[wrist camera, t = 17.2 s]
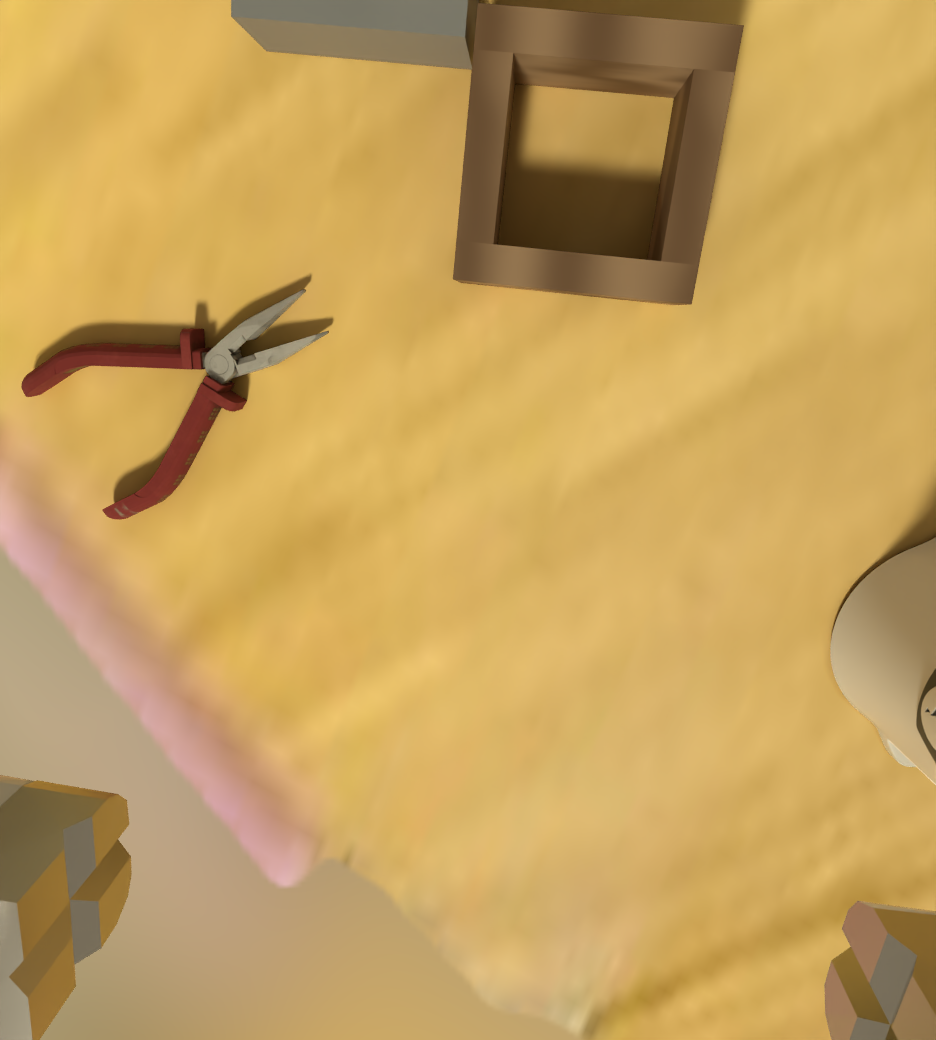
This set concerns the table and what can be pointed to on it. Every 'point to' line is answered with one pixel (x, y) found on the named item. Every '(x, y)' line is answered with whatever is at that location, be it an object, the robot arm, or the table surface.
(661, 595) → the table surface
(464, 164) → the open box
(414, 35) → the container
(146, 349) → the pliers
